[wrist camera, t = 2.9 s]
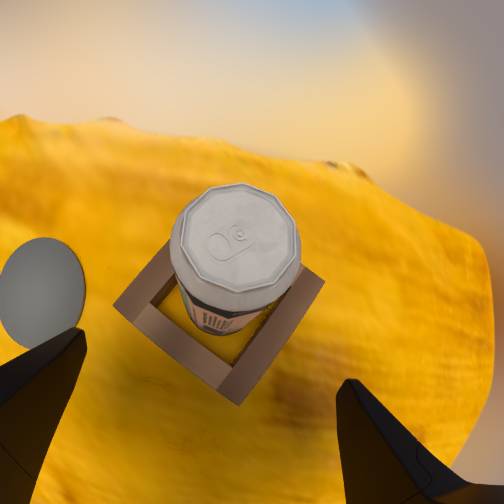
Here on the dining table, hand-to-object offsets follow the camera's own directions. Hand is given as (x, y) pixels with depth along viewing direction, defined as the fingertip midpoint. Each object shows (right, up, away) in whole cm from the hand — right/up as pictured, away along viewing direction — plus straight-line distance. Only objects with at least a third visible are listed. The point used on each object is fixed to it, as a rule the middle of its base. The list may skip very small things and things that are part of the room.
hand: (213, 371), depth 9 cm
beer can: (-1, 0, +12) cm, 12 cm away
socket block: (-1, 0, +12) cm, 12 cm away
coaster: (-15, +1, +10) cm, 18 cm away
